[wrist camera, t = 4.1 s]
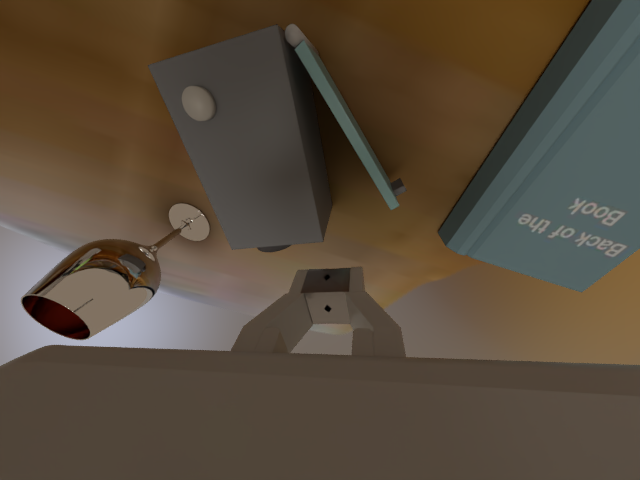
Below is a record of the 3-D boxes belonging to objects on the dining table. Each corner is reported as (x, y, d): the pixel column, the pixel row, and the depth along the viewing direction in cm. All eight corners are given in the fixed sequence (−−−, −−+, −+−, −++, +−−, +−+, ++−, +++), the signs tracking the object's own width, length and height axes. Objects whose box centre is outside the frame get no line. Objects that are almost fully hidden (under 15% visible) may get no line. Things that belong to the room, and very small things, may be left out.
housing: (214, 76, 24) (139, 64, 16) (305, 50, 22) (273, 20, 13) (266, 227, 33) (236, 269, 25) (334, 220, 31) (326, 264, 22)
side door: (306, 53, 22) (281, 32, 15) (323, 36, 21) (305, 6, 14) (382, 184, 27) (390, 212, 20) (398, 174, 26) (412, 200, 19)
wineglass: (217, 250, 37) (116, 356, 21) (168, 238, 37) (35, 335, 22) (214, 204, 32) (84, 297, 17) (159, 191, 32) (-18, 271, 17)
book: (550, 265, 30) (581, 292, 26) (435, 229, 30) (448, 250, 25) (784, 52, 18) (916, 37, 14) (593, -14, 17) (668, -50, 13)
